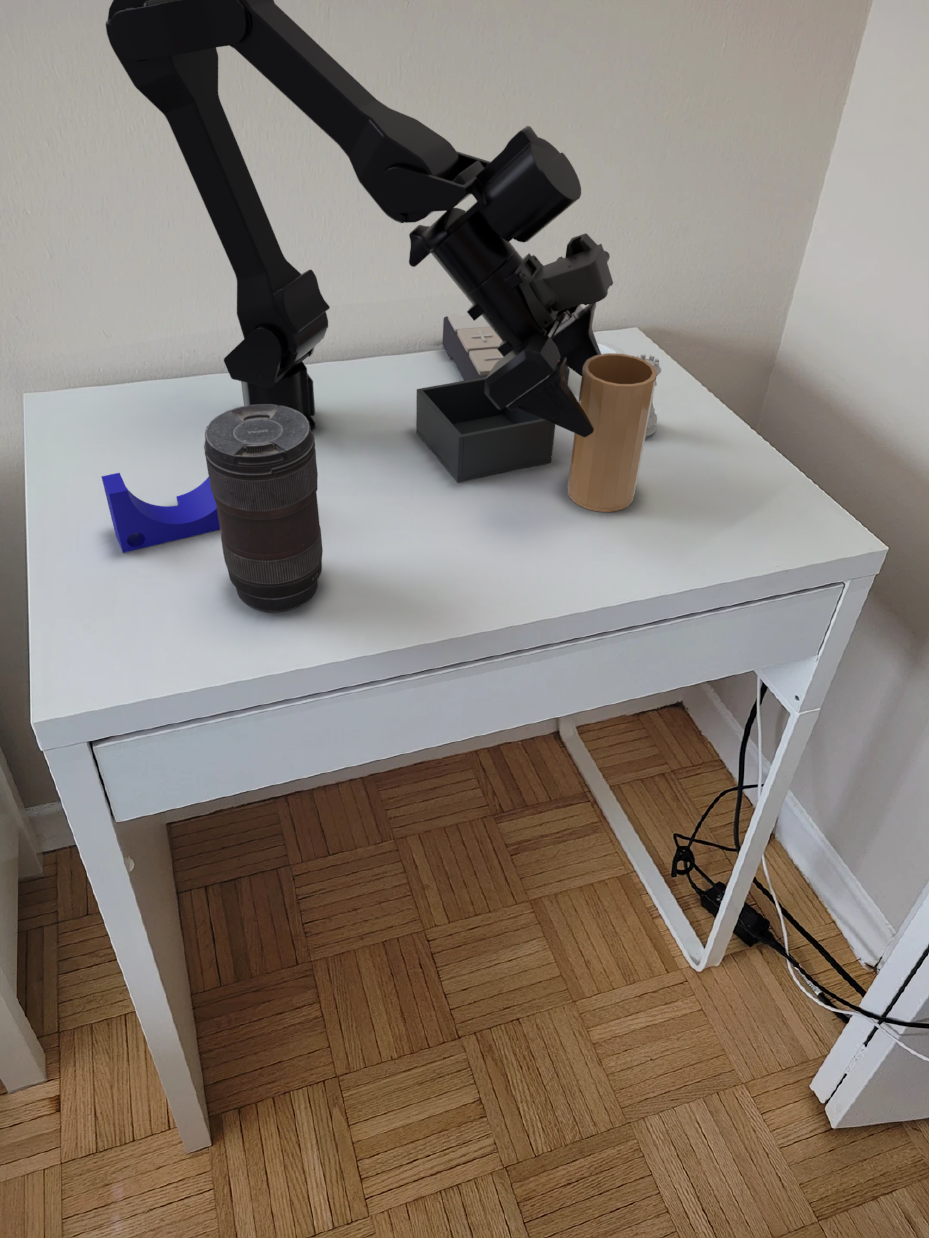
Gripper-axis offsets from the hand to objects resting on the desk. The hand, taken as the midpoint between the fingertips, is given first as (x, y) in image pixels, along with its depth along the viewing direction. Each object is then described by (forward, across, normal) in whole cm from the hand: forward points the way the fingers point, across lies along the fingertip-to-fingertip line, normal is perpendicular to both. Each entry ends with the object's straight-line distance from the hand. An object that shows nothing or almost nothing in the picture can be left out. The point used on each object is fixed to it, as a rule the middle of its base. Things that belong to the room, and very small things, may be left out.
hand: (599, 410), depth 87 cm
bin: (-2, +4, +15) cm, 15 cm away
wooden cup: (+7, 0, +5) cm, 9 cm away
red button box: (-4, +22, +17) cm, 28 cm away
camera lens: (-9, -24, +22) cm, 33 cm away
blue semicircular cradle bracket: (-18, -18, +30) cm, 39 cm away
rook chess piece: (+8, +14, +5) cm, 17 cm away
